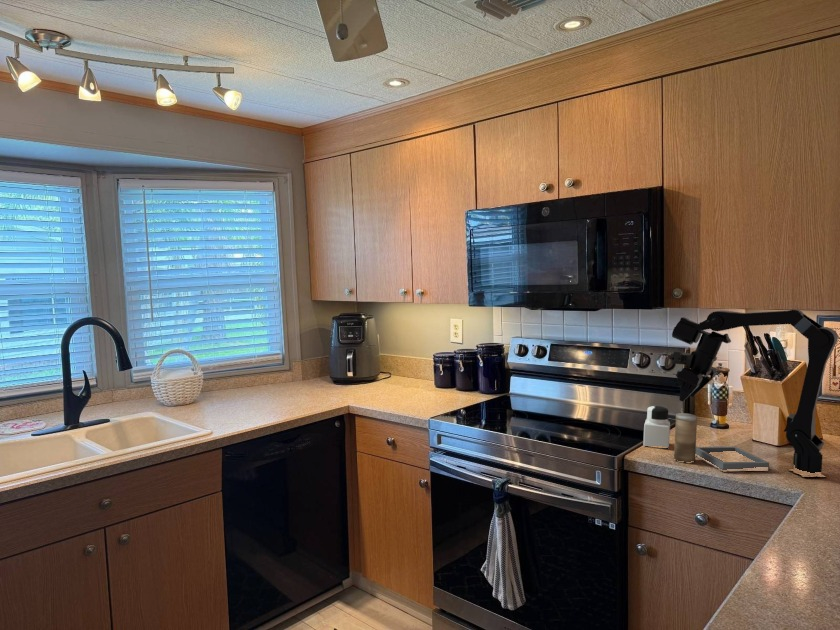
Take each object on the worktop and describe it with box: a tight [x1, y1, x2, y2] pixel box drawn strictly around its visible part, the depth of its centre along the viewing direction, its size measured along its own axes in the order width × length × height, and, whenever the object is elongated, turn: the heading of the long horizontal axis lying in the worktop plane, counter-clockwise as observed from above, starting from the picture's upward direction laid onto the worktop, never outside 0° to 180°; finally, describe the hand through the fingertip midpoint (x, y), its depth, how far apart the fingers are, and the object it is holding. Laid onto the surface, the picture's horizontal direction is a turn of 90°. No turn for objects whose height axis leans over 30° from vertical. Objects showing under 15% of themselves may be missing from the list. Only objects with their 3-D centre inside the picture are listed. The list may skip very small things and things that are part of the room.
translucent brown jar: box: [673, 412, 698, 462], centre depth 169 cm, size 6×6×13 cm
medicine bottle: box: [642, 405, 671, 448], centre depth 184 cm, size 7×7×12 cm
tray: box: [695, 446, 770, 470], centre depth 168 cm, size 15×13×2 cm
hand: (686, 398), depth 178 cm, fingers open, 9 cm apart
